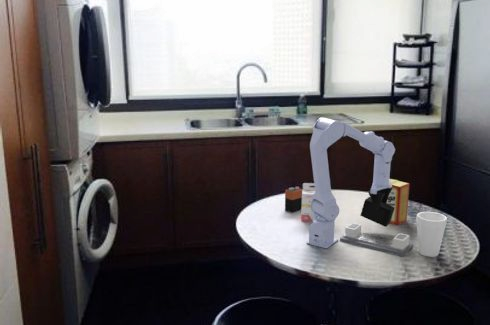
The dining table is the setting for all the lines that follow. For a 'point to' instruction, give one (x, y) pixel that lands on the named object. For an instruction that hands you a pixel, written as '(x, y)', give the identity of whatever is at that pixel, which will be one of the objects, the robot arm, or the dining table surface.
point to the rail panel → (376, 243)
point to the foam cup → (430, 232)
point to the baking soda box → (398, 201)
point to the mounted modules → (398, 241)
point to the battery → (293, 199)
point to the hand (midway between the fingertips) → (379, 207)
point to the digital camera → (377, 212)
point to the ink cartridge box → (307, 202)
